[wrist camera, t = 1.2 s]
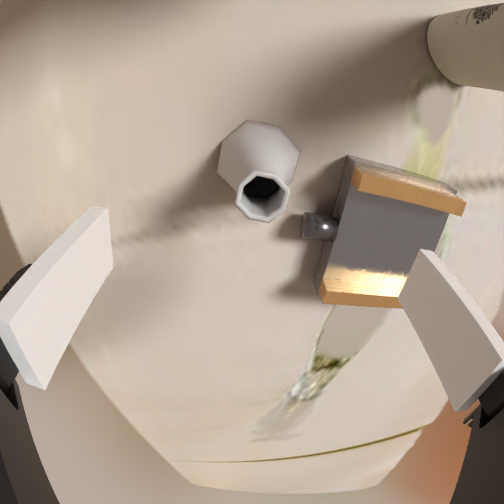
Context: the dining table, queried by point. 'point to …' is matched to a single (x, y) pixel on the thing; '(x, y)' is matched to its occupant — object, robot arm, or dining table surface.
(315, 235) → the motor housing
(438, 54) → the travel mug
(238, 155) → the flask
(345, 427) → the dining table surface
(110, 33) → the dining table surface
